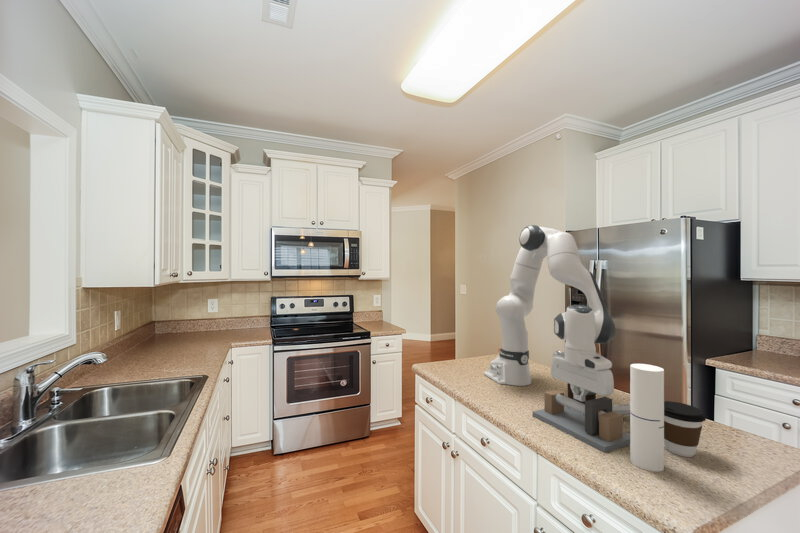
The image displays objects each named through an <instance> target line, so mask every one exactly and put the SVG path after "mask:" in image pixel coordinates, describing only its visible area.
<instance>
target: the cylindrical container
mask: <svg viewBox="0 0 800 533" xmlns="http://www.w3.org/2000/svg"><path fill="white" fill-rule="evenodd" d="M629 367H630V368H629V369H630V371H629V373H630V374H629V375H630V377H629V378H630V379H629V380H630V381H629V383H630V384H629V386H630V387H629V388H630V389H629V392H630V393H629V395H630V396H629V397H630V400H629V401H630V402H629V404H630V415H629V416H630V417H629V420H630V422H629V423H630V424H629V427H630V428H629V429H630V430H629V432H630V433H629V434H630V445H629V447H630V448H629V449H630V450H629V452H630V454H629V455H630V458H629V459H630V460H629V461H631V463H632V464H634V465H635V466H636V467H638V468H641V469H643V470H646V471H648V472H649V471H650V472H655V473H656V472H657V473H658V472H662V471H664V470H665V445H664V401H665V369H664V368H663V367H660V366H657V365H652V364H648V363H647V364H646V363H631V364H630V366H629Z"/></svg>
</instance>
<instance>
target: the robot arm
mask: <svg viewBox="0 0 800 533" xmlns="http://www.w3.org/2000/svg"><path fill="white" fill-rule="evenodd" d="M518 239H519V244H520V246H521V247H520V249H519V251H518V253H517V256H516V258H515V261H514V264H513V269H512V270H511V273H510V278H509V281H510V287H509V288H510V289H509V294H507V295H504V296H503V297H501V298H500V299H499V300H498V301H497V303H496V305H495V312H496V314H497V316H498V318H499V322H500V327H501V341H502V342H501V343H502V344H501V347H502V348H498V349H497V351H498V352H499V355H498V356H497V357H495V358H494V359H493V360H491V361H490V362H489V366H488V370H485V371H484V372H483V375H484V376H486V377H488V378H489V379H491V380H492V381H494V382H495V383H497V384H498V385H508V386H517V387H519V386H520V387H522V386H529V385H531V384H532V375H531V370H530V369H531V368H530V362H529V360H530V350H529V346H528V345H529V333H528V330H527V328H526V324H525V317H526V316H528V315H529V314H530V313H531V312H532V310H533V307H534V296H535V289H536V284H537V283H538V282H537V281H538V277H539V275H540V272H541V268H542V264H543V261H544V260H545V259H544V258H546V259H547V261H546V262H547V267H548V272H549V275H551V277H552V278H553V279H554V280H556V281H557V282H559V283H561V284H564V285H568V286H569V287H570V286H571V287H573V288H575V289H578V290H579V291H580V292H582V293H583V294H584V295H585V298H586V300H587V303H588V306H587V305H582V304H572V305H569V306H567V308H566V311H565V312H562V313H561V312H560V313H559V314H557V315H556V317H554V318H553V319H554V320H553V327H554V328H553V333H554V334H555V335H556V336H557V337H558V338H559V339H561V340H563V341H565V342H564V352H562V351H560V350H555V351H554V352H553V353H552V360H551V363H550V364H551V365H550V375H551V378H553V379H556V380H558V381H562V382H563V383H565V384H566V383H569V384H570V387H571V390H572V392H573V393H574V399H576V400H579V401H581V402H584V401H585V396H586V395H587V393H588V392H589V391H591V392H594V393H596V395H599V396H602V397H609V396H612V395H613V393H614V390H615V386H614V385H615V383H614V374H613V372H612V370H610V369H611V368H612V367H613V363H612V361H611V360H610V359H608V358H607V357H604V356H603V355H601V354H600V353H599V352H597V349H596V348H597V347H596V344H601V345H602V344H603V345H606V344H607V343H609V342H610V341H612V340H613V339H614V338H615V336H616V333H617V332H616V331H617V330H616V324H615V322H614V320H613V318H612V316H611V315H610V313H609V311H608V308H607V306H606V303H605V300H604V297H603V295H602V293H601V290H600V288H599V285H598V283H597V280H596V278H595V276H594V274H593V273H592V272H591V271H589V270H587V268H586V267H585V266H584V265H583V262H582V261H581V258H580V253H579V249H578V245H577V241H576V240H575V238H574V236H573V235H572V234H571V233H569V232H566V231H561V230H559V229H555V228H552V227H545V226H538V225H535V224H532V225H530V224H529V225H527V226H525V227H524V228H523V229H522V230H521V232H520V234H519V238H518ZM578 387H580V391H582V393H581V394H580V393H579V391H578V389H577V388H578Z"/></svg>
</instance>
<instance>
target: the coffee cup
mask: <svg viewBox="0 0 800 533" xmlns="http://www.w3.org/2000/svg"><path fill="white" fill-rule="evenodd" d="M706 420H707V419H706V415H705V414H704V412H703V411H702V409H700V408H698V407H695V406H693V405H690V404H687V403H683V402H678V401H669V400H668V401H667V400H664V448H665V449H666V450H667V451H668V452H670V453H672V454H673V455H676V456H680V457H685V458H692V457H694V456H695V455H696V453H697V447H698V446H699V442H700V438H701V433H702V428H703V425H702V424H703V422H706Z"/></svg>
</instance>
